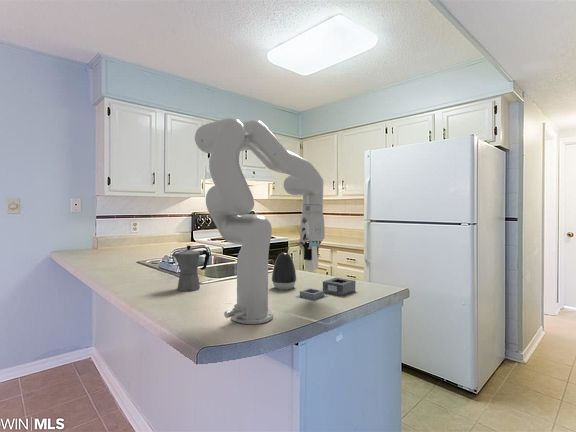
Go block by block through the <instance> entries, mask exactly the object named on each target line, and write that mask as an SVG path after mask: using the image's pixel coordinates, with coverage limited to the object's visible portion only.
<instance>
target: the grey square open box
mask: <svg viewBox="0 0 576 432" xmlns="http://www.w3.org/2000/svg"><path fill="white" fill-rule="evenodd" d="M295 298H298V299H303V300H306V301H311V302H317V301H319V300H322V299H326V298H329V296H328V295H325V293H324V291H323V289H322V290H321V289H316V288H311V287H309V288H306V289H302V290H300V291H299V295H296V296H295Z"/></svg>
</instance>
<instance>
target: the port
mask: <svg viewBox="0 0 576 432" xmlns="http://www.w3.org/2000/svg"><path fill="white" fill-rule="evenodd" d="M322 291H324V294H330V295H335V296H338V297H339V296H340V297H345V296H347V295H349V294H352V293H354V292H356V280H353V279H347V278H342V277H332V278H330V279H326V280H324V281H322Z"/></svg>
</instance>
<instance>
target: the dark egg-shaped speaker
mask: <svg viewBox="0 0 576 432" xmlns="http://www.w3.org/2000/svg"><path fill="white" fill-rule="evenodd" d="M295 267H296V266H295V263H294V260H293V259H292V256H291V255H290V254H289V253H288V252H281V253H279V254H278V256H277V258H276V259H275V261H274V265H273V268H272V273H271V274H272V275H271V282H272V284H273V286H274V288H275V289H276V290H282V291H283V290H284V291H285V290H290V289H293V288H294V287H295V285H296V282H297V272H296V268H295Z"/></svg>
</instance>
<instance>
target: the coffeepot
mask: <svg viewBox="0 0 576 432" xmlns="http://www.w3.org/2000/svg"><path fill="white" fill-rule="evenodd" d="M191 247H192V245H189V244H188V245H186V250H181V251H178V252H176V253H173V254H172V257H174V259H175V260H176V262H177V264H178V268H179V270H180V271H179V275H178V282H177V288H176V289H177V291H179V292H184V293H185V292H188V293H190V292H195V291H199V290H200V288H201V284H200V279H199V273H198V268H199V262H200V256H205V257H204V261H203V265H202V267H200V269H199V270H201V271H203V270H206V268H207V266H208V262H209V259H210V257H211V254H210V253H209V252H208V250H206V249H203V250H193V249H191Z"/></svg>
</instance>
